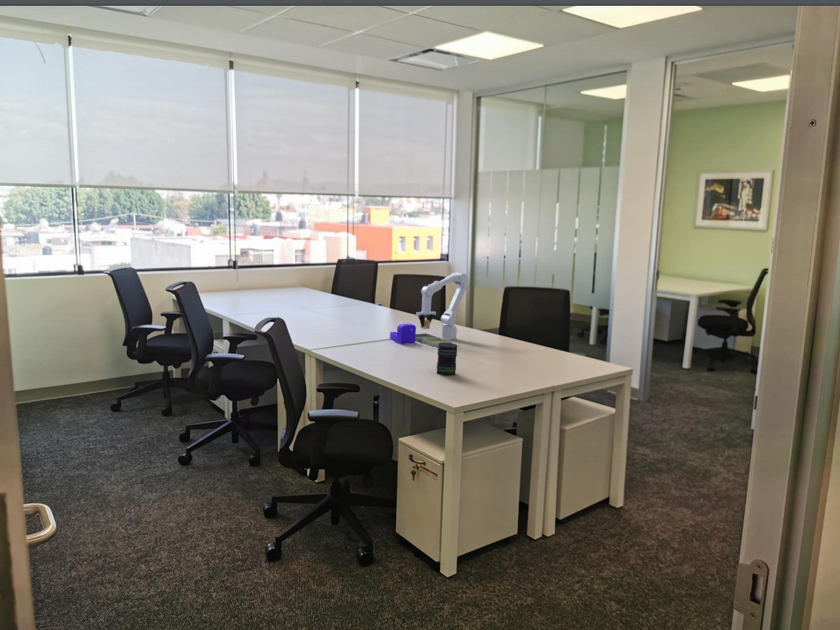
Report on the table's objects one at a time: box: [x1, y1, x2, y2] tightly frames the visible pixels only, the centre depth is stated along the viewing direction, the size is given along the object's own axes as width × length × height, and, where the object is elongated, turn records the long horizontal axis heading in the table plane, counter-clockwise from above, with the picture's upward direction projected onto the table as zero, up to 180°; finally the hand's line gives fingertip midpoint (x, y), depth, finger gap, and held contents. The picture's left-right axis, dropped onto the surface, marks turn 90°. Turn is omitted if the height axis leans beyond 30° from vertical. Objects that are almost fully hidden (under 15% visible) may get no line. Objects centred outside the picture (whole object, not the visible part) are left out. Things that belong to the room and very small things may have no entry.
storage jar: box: [436, 342, 458, 377], centre depth 318 cm, size 10×10×15 cm
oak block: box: [420, 319, 431, 330], centre depth 399 cm, size 4×4×5 cm
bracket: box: [389, 323, 417, 345], centre depth 393 cm, size 18×11×12 cm, turn 38°
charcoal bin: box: [415, 332, 438, 343], centre depth 402 cm, size 14×13×2 cm
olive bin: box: [421, 336, 453, 348], centre depth 391 cm, size 14×13×2 cm
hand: (425, 326), depth 400 cm, fingers closed on oak block, 4 cm apart
